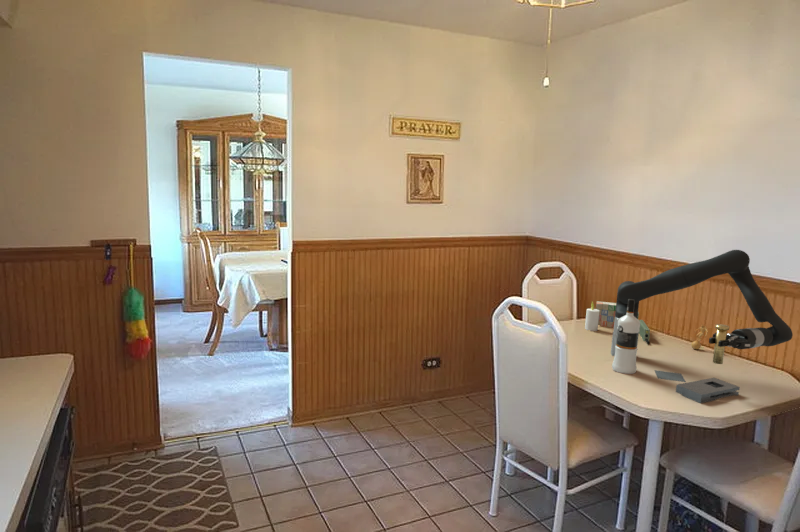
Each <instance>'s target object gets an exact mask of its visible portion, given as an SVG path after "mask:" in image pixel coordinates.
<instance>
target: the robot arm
mask: <svg viewBox="0 0 800 532" xmlns="http://www.w3.org/2000/svg"><path fill="white" fill-rule="evenodd" d="M750 260H751V259H750V256H749V254H748V253H747V252H746V251H744V250H741V249H732V250H728V251H727V252H723V253H722V254H719V255H717V256H714V257H711V258H709V259H706V260H700V261H696V262H691V263H689V264H683V265H681V266H678V267H677V266H676V267H674V268H671V269H668V270H665V271H663V272H661V273H659V274H657V275H655V276H653V277H651V278H648V279H645V280H641V281H637V282H635V281H632V280H631V281H630V280H627V281H626V280H625V281H623V282H622V283H620V284H619V285H618V288H617V292H616V295H617V296H616V302H615V303H616V311H615V321H614V327H613V331H612V336H611V337H612V340H611V347H610V354H611V356H612V357H613V356H614V357H615V348H616V347H615V346H616V340H617V330H618V329H617V327H618V320H619V319H620V318H621V317H623V316H625V315H626V313H627V305H628V299H633V300H635V304H634V313H633V316H634V317H636V318H637V319H638V320H639V317H638V312H639V308H640V307H639V305H640V302H641V301H643V300H646V299H648V298H651V297H654V296H658V295H663V294H667V293H671V292H676V291H680V290H683V289H686V288H691V287H692V286H693V287H694V286H696V285H698V284H700V283H702V282H704V281H705V282H706V281H707V280H709V279H712V278H713V277H716V276H717V277H718V276H721V275H725V274H728V275H729V276H730V277H731V279H732V280H733V281H734V282H735V284H736V286H737V287H738V289H739V290H740V292H741V294H742V295H743V298H744V299H745V302H746V303H747V305H748V308H749V310H750V311H751V313H752V315H753V316H754V318H755V320H756V322H758V323H769V324H770V325H771V326H769V327H747V328H737V329H733V330H732V331H731V332H730V333H727V334H726V340H720V341H719V343H718V346H719V347H724V346H725V347H728V348H733V349H737V350H749V349H755V348H758V347H759V348H760V347H773V346H778V345H780V344H783V343H786V342H789V341H791V340H792V339H793V330H792V328H791V327H790V326H789V325H788V324H787V323H786V321H784V320H783V319H782V318H781V317H780V316H779V314H777V312H776V310H775V309H774V308H773V306H772V304H771V301H769V299H768V297H767V296H766V294H765V293H764V291H763V290H762V289H761V288H760V286H759V285H758V284H757V282H756V280H755V278H754V277H753V275H752V272H751V270H750V267H749V265H750ZM715 339H716V332H714V333H712V337H709V338H708V343H709V344H710V345H713V344H714V345H715Z"/></svg>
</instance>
